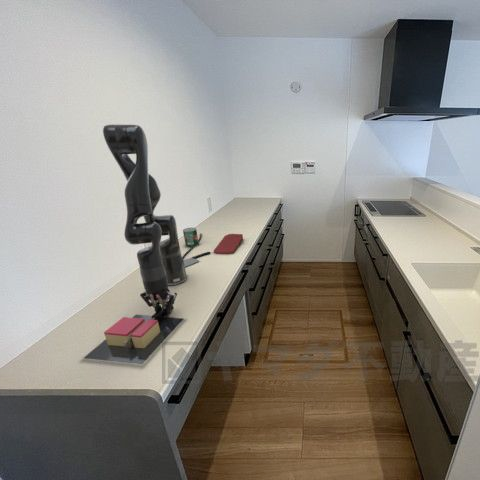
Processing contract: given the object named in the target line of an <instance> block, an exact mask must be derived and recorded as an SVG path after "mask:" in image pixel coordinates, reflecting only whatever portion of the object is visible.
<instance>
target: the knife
mask: <svg viewBox="0 0 480 480" xmlns="http://www.w3.org/2000/svg"><path fill="white" fill-rule="evenodd" d="M173 310H174V304H173V305H172V306H171V307H170V313H171V312H172V311H173ZM150 316H151V318H152V319H151V320H158V323H159V322H160V321H161V320H162V319H163V318H164V317H165V316H164V312H163V307H162V306H161V308H160V309H159V310H158V311H157V312H154V313H153V314H152V315H150ZM133 345H134V344H133V341H132V337H130V338H129V339H128V340H127V341H126V342H125V346H126V349H127V350H128V349H129V348H130V347H131V346H133Z"/></svg>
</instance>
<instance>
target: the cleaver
mask: <svg viewBox="0 0 480 480" xmlns="http://www.w3.org/2000/svg"><path fill="white" fill-rule="evenodd" d="M207 255H211V252H210V251H205V252H203V253H199V254H198V255H195V256H191V257H190V258H189V257H188V258H185V259H183V261H184V266H185V268H186V267H189V266H191V265H194V264H196V263H198V262H199V260H198V259H197V258H200V257H204V256H207Z"/></svg>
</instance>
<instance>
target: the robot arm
mask: <svg viewBox="0 0 480 480" xmlns="http://www.w3.org/2000/svg"><path fill="white" fill-rule="evenodd" d="M102 136H103V139H104V142H105V144H106V146H107V148H108V150H109V152H110V154H111V155H112V157H113V159H114V160H115V162H116V163H117V165H118V167H119V168H120V170H121V172H122V174H123V176H124V178H125V180H126V183H125V186H124V199H125V207H126V222H125V226H124V232H123V233H124V234H123V235H124V239H125V241H126V242H127V243H128V244H129V245H133V246H134V245H142V244H143V245H144V244H151V245H149V246H147V247H144V248H141V249H139V250H138V251H137V253H136V258H137V263H138V266H139V272H140V277H141V280H142V284H143V289H144V290H143V291H142V292H141V293H140V294H139V295H140V297H141V298H142V300H143V301H144V302H145V304H146V305H147V307H152V308H153V309H154V313H156V312H157V311H158V310H159V309H160V308H161V307H163V312H164V316H165V317H169V316H170V315H171V312H170V307H171V306H172V305H173V306H174V304H175V302H176V299H177V296H178V293H177V292H174V293H173V292H171V291H170V288H168V287H169V286H176V285H179V284H182V283H184V282H186V280H187V272H186V267H185V266H184V261H183V260H184V258H185V257H186V255H188V253H189V252H190V251H191V250H192V249H194V248H195V247H194V246H192V247H191V248H189V249H188V250H187V251H186V252H185V253H184V254H183V255H182V252H181V246H180V241H179V236H178V235H179V234H178V227H177V222H176V218H175V216H174V215H173V214H161V215H160V214H159V215H155V214H154V212H155V210H156V207H157V206H158V204H159V202H160V200H161V197H162V193H161V190H160V187H159V184H158V181H157V180H156V178H155V177H154V176H153V175H152V174H151V173H150V172H149V147H148V140H147V137H146V132H145V131H144V129H143V127H142V126H140V125H139V124H105V125H104V126H103V127H102ZM130 155H135V162H134V160H133V159H132V158H131V157H130ZM141 218H143V220H144V222H138V220H140V219H141ZM164 236H168V237H167V238H165V239H164V240H162V237H164ZM201 239H202V233H199V237H198V243H200V241H201Z"/></svg>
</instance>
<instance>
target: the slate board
mask: <svg viewBox="0 0 480 480" xmlns="http://www.w3.org/2000/svg"><path fill="white" fill-rule="evenodd" d="M151 316H152V315H145V314H135V315H134V316H132V318H139V319H144V320H145V322H146V321H147V320H148V319H152V318H151ZM183 321H184V318H182V317H181V318H180V317H171V316H170V317H169V316H167V317H164V318H163V319H162V320H161V321H160V322H159V323H158V324H159V328H160V333H159V334H158V335H157V336H156V337H155V338H154V339H153V340H152V341H151V342H150V343H149V344H148V345H147V346H146V347H145V348H136V347H134V345H133V346H131V347H130V348H129V349H128V350H127V349H126V347H125V346H114V345H108V343H107V340H106V339H105V340H103V341H102V342H100V344H98V345H97V346H96V347H95V348H93V349H92V350H91V351H90V352H88V353H87V354H86V355H85V356H84V357H83V359H86V360H87V359H88V360H97V361H107V362H116V363H127V364H137V365H143V364H144V363H145V362H146V361H147V360H148V359H149V357H151V356H152V354H153V353H155V351H156V350H157V349H158V348H159V347H160V346H161V345H162V343H164V341H166V339H167V338H168V337H169V336H170V335H171V334H172V333H173V331H175V329H177V327H178V326H179V325H180V324H181V323H182V322H183Z"/></svg>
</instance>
